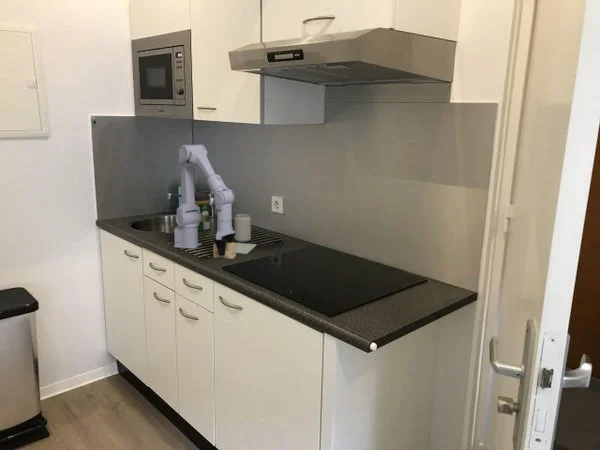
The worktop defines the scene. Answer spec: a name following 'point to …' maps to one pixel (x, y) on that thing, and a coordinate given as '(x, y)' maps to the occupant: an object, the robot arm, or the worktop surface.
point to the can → (242, 227)
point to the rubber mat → (244, 248)
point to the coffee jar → (203, 210)
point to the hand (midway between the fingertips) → (224, 253)
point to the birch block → (226, 251)
